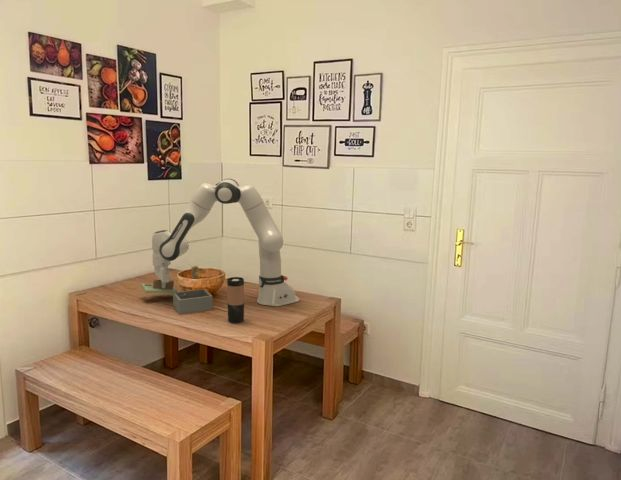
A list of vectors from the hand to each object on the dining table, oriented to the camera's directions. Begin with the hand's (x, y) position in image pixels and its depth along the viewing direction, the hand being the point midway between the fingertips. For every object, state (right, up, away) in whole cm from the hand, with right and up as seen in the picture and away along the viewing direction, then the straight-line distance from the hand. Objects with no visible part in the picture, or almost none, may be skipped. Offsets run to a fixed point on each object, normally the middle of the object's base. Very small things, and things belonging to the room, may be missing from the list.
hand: (162, 287), depth 245 cm
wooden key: (+16, -7, +5) cm, 18 cm away
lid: (-2, -2, +1) cm, 3 cm away
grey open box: (+19, -10, -13) cm, 25 cm away
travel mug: (+43, -13, -27) cm, 52 cm away
